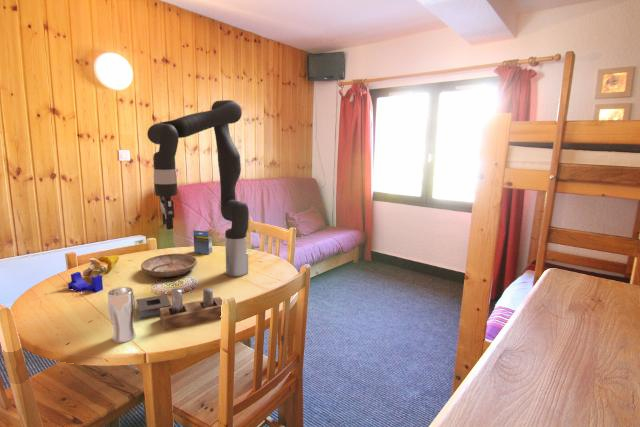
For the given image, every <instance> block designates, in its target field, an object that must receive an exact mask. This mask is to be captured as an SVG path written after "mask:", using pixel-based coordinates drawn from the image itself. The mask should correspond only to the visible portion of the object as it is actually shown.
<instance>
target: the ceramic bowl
mask: <svg viewBox="0 0 640 427" xmlns="http://www.w3.org/2000/svg"><path fill="white" fill-rule="evenodd" d="M197 263H198V261H197V258H196V257H195V256H194V255H190V254H185V253H167V254H166V253H165V254H161V255H160V254H159V255H157V256H153V257H149V258H147V259H145V260H143V261H142V263H141V265H140V269H141V270H142V271H143V272H144V273H145V274H148V275H149V276H152V277H157V278H169V277H171V278H172V277H177V276H180V275H184V274H187V273H188V272H190V271H192V270H193V269H194V268H195V267H196V266H197Z"/></svg>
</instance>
